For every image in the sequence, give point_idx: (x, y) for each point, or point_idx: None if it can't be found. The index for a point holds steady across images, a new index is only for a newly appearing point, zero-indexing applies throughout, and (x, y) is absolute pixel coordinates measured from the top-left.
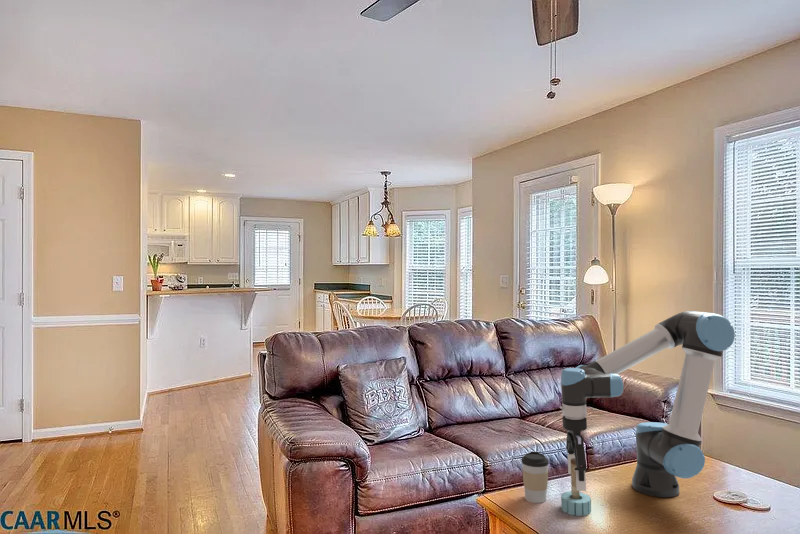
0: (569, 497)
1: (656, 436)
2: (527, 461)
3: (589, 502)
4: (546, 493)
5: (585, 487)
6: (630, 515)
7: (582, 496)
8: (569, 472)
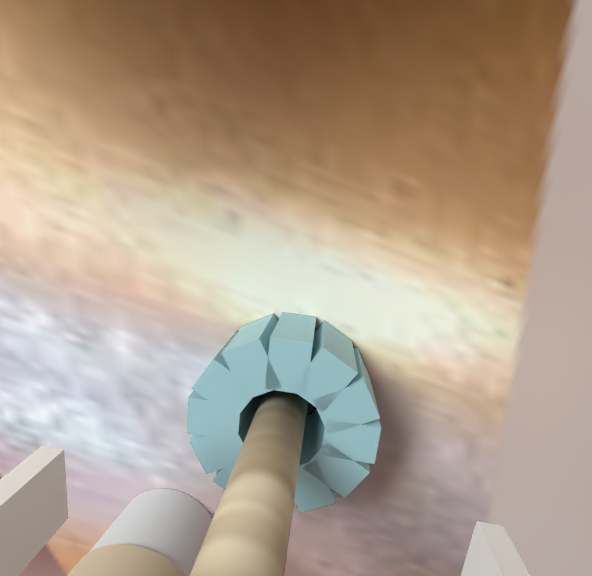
0: None
1: None
2: None
3: (349, 362)
4: (164, 519)
5: (521, 565)
6: (385, 90)
7: (272, 385)
8: (56, 525)
